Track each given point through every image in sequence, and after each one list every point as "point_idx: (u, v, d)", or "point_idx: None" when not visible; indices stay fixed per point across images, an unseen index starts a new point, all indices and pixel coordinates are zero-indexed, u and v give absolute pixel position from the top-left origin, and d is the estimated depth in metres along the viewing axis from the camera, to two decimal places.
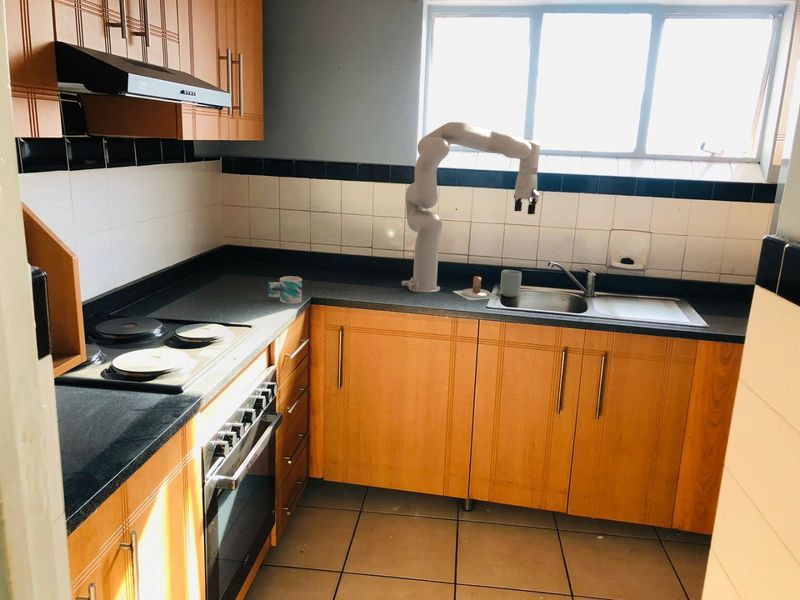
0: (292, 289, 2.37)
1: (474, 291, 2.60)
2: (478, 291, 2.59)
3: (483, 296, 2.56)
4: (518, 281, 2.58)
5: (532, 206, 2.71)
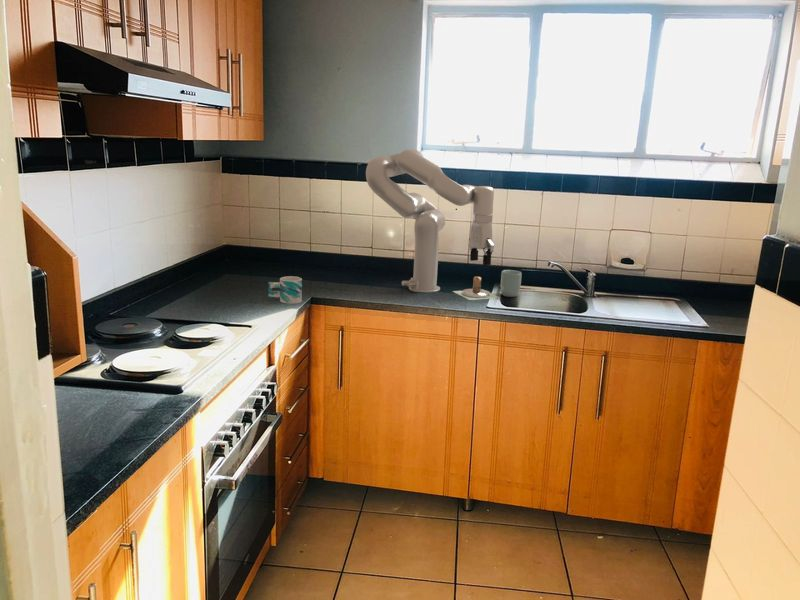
0: (292, 289, 2.37)
1: (474, 291, 2.60)
2: (478, 291, 2.59)
3: (483, 296, 2.56)
4: (518, 281, 2.58)
5: (487, 257, 2.52)
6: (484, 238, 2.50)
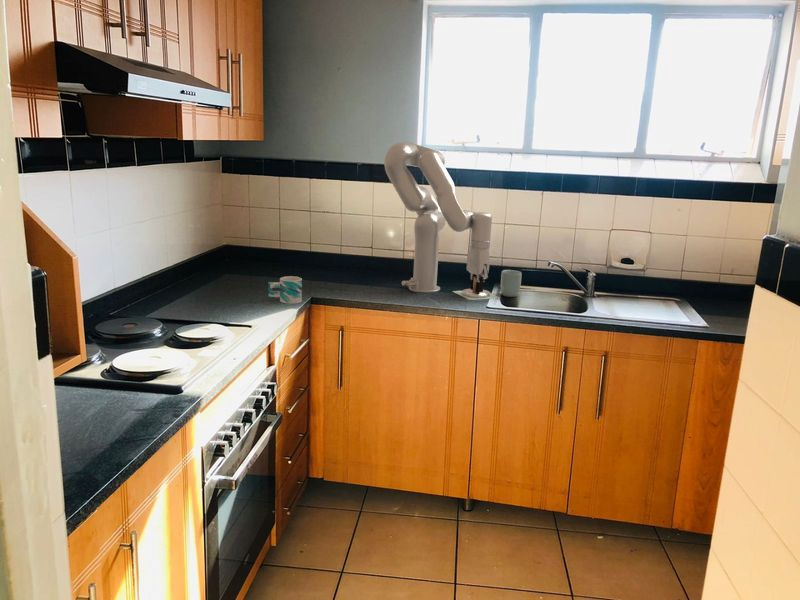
0: (292, 289, 2.37)
1: (474, 291, 2.60)
2: None
3: (483, 296, 2.56)
4: (518, 281, 2.58)
5: (480, 284, 2.57)
6: (481, 264, 2.53)
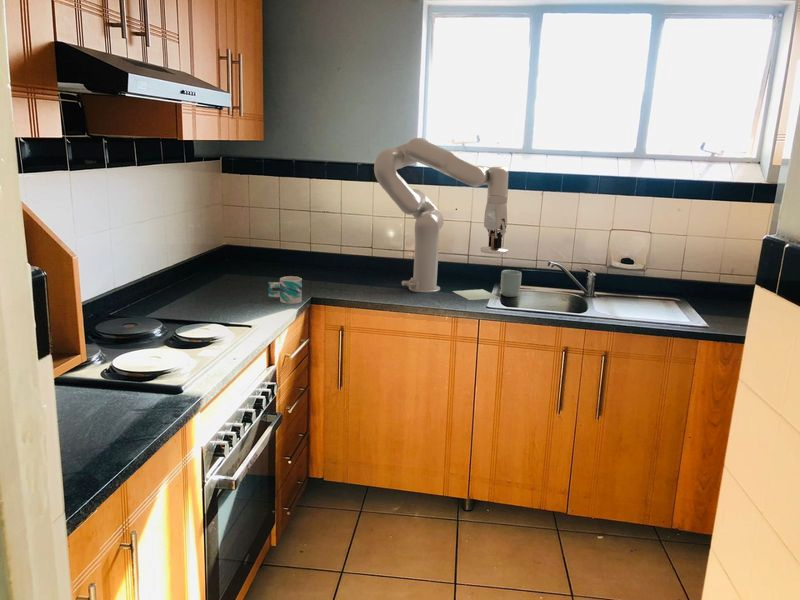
0: (292, 289, 2.37)
1: (492, 248, 2.56)
2: None
3: (502, 252, 2.52)
4: (518, 281, 2.58)
5: (498, 240, 2.53)
6: (499, 219, 2.49)
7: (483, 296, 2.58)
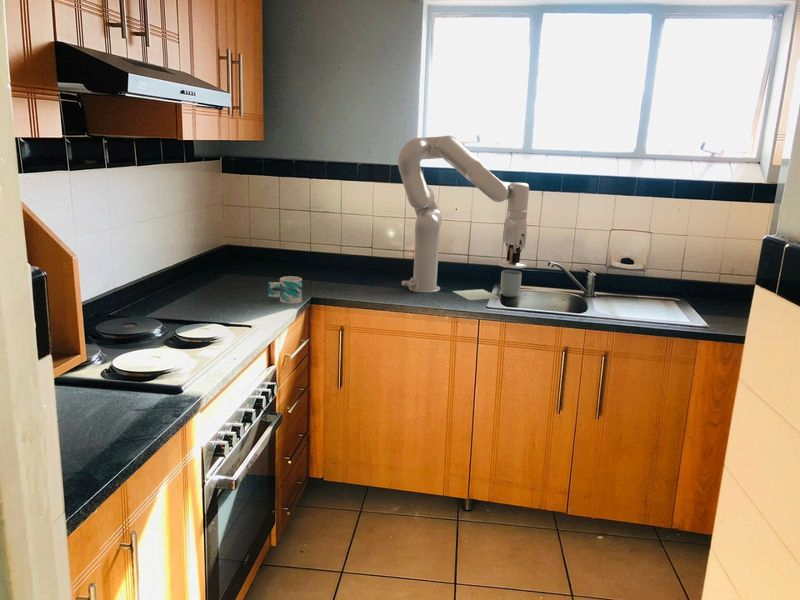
0: (292, 289, 2.37)
1: (511, 262, 2.58)
2: None
3: (520, 266, 2.55)
4: (518, 281, 2.58)
5: (516, 255, 2.56)
6: (518, 234, 2.51)
7: (483, 296, 2.58)
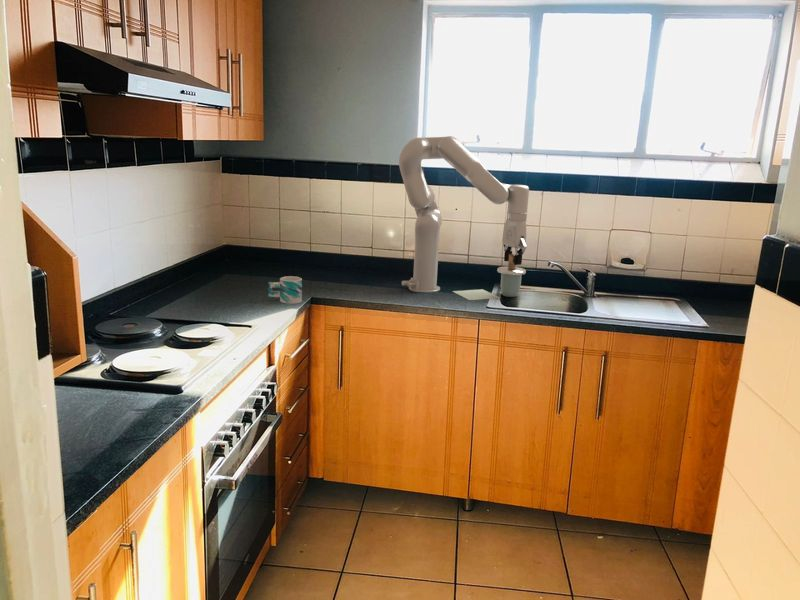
0: (292, 289, 2.37)
1: (509, 268, 2.59)
2: (513, 268, 2.59)
3: (519, 273, 2.55)
4: (518, 281, 2.58)
5: (518, 257, 2.55)
6: (518, 236, 2.51)
7: (483, 296, 2.58)
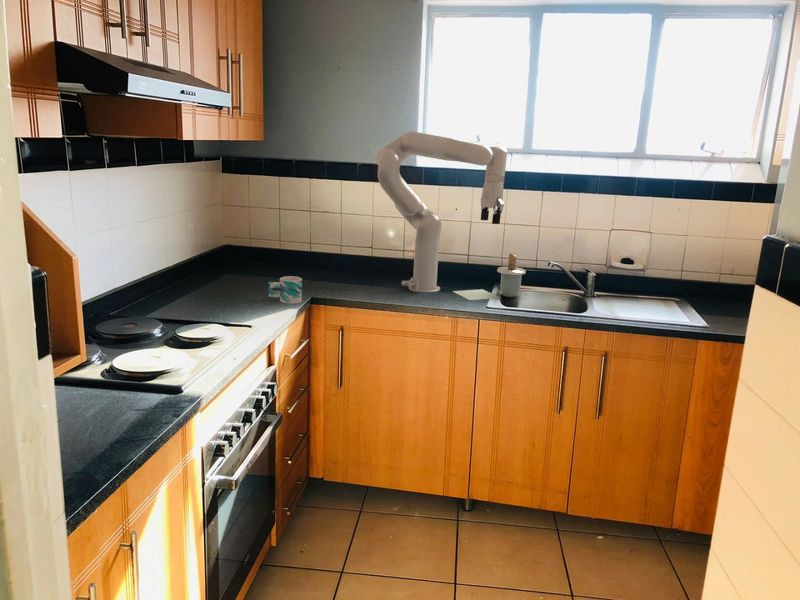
0: (292, 289, 2.37)
1: (509, 268, 2.59)
2: (513, 268, 2.59)
3: (519, 273, 2.55)
4: (518, 281, 2.58)
5: (497, 216, 2.59)
6: (495, 197, 2.57)
7: (483, 296, 2.58)
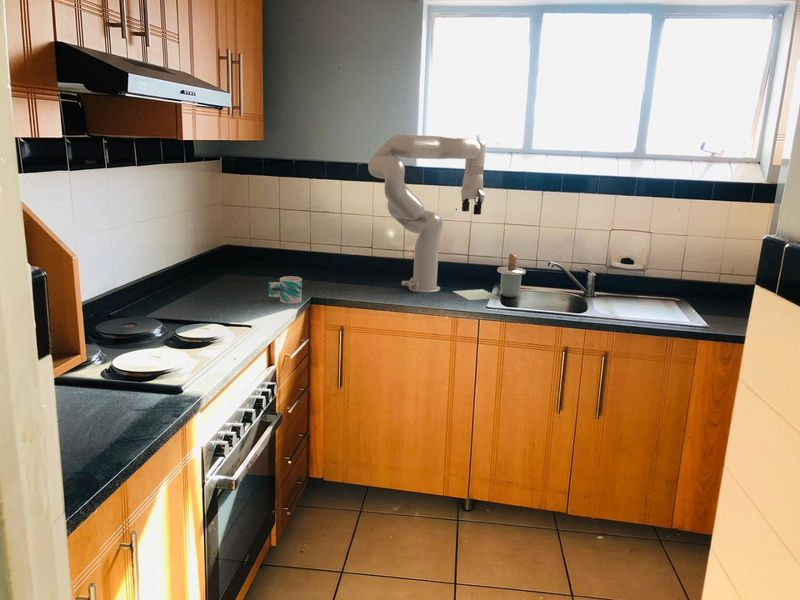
0: (292, 289, 2.37)
1: (509, 268, 2.59)
2: (513, 268, 2.59)
3: (519, 273, 2.55)
4: (518, 281, 2.58)
5: (478, 207, 2.67)
6: (475, 188, 2.65)
7: (483, 296, 2.58)
